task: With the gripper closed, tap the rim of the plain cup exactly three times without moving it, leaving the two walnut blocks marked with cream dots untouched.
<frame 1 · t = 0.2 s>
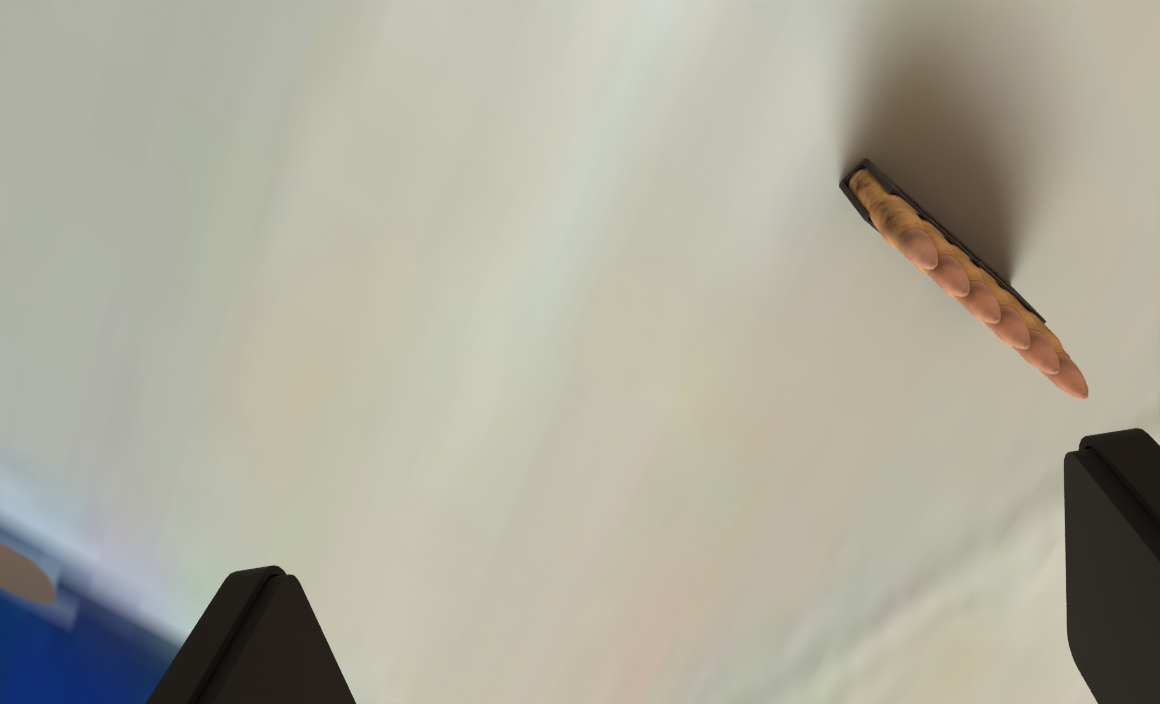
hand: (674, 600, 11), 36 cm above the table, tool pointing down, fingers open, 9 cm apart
ammunition clip: (924, 235, 46), on the table
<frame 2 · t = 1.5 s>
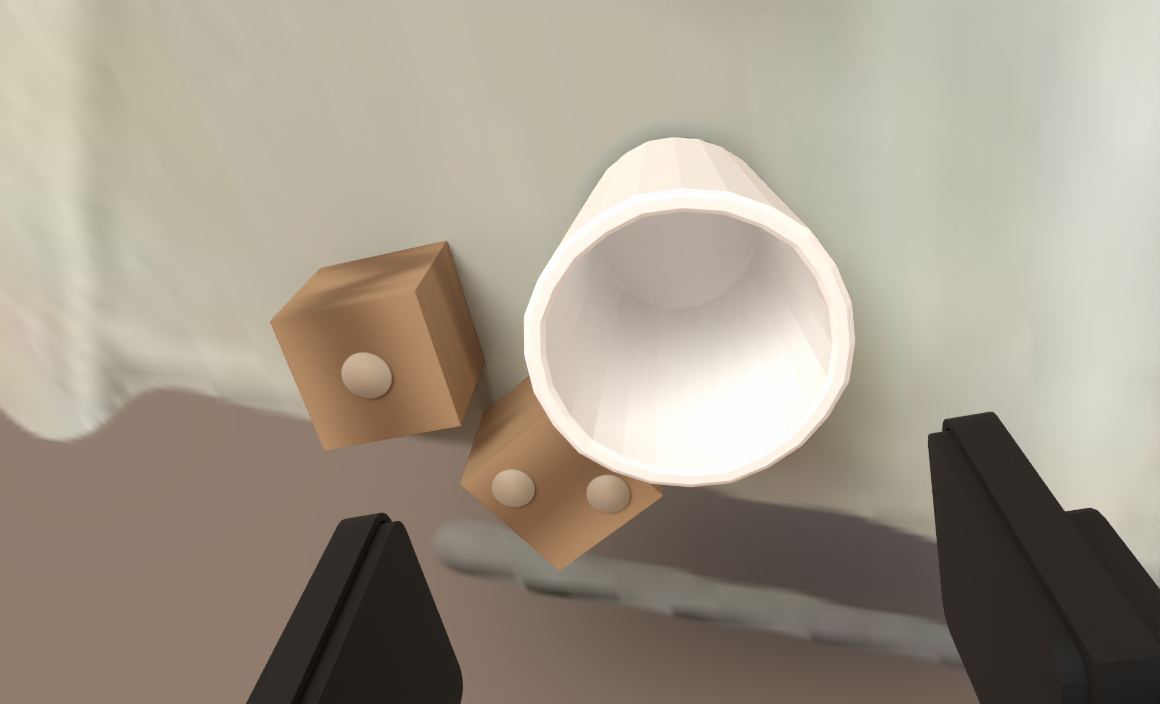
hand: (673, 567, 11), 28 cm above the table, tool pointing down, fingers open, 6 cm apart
cup: (675, 221, 38), on the table
walnut block one dot: (404, 314, 41), on the table
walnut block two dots: (572, 418, 43), on the table
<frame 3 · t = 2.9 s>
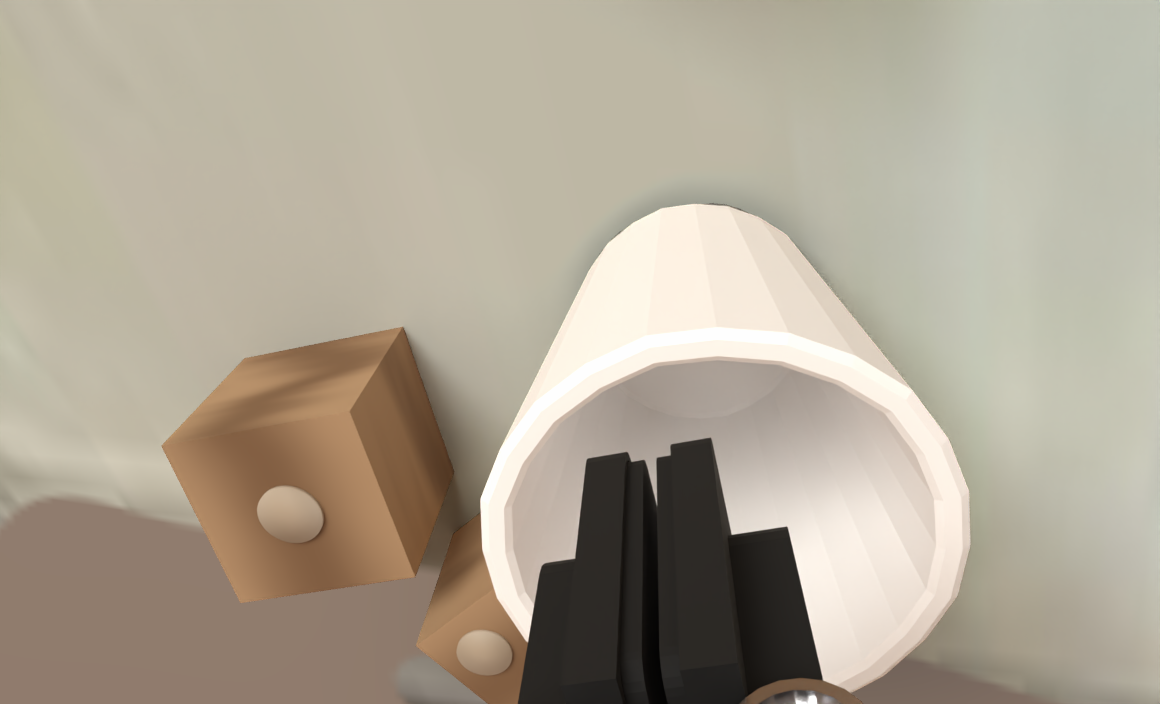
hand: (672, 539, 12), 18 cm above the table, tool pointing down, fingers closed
cup: (695, 305, 30), on the table
walnut block one dot: (352, 415, 33), on the table
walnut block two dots: (563, 540, 34), on the table
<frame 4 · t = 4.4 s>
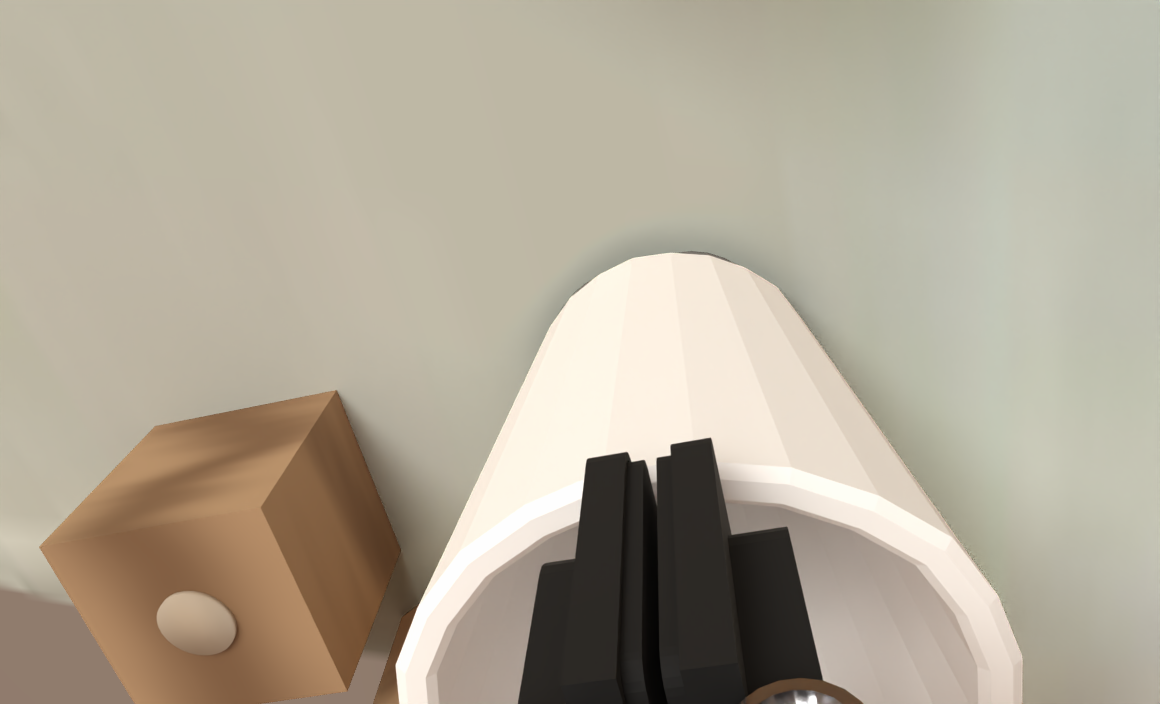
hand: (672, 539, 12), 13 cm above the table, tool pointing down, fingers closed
cup: (673, 364, 26), on the table
walnut block one dot: (282, 488, 28), on the table
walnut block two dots: (527, 623, 30), on the table
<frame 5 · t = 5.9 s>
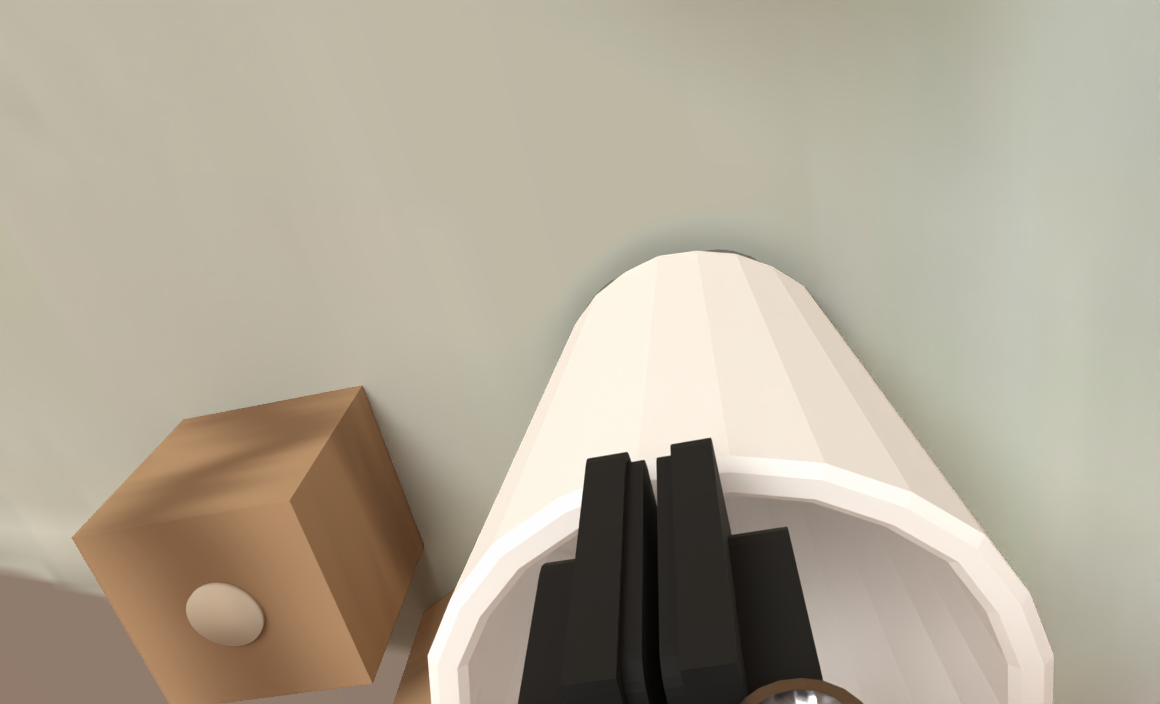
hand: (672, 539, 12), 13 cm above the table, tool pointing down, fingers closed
cup: (697, 363, 26), on the table
walnut block one dot: (307, 482, 29), on the table
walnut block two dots: (548, 619, 30), on the table
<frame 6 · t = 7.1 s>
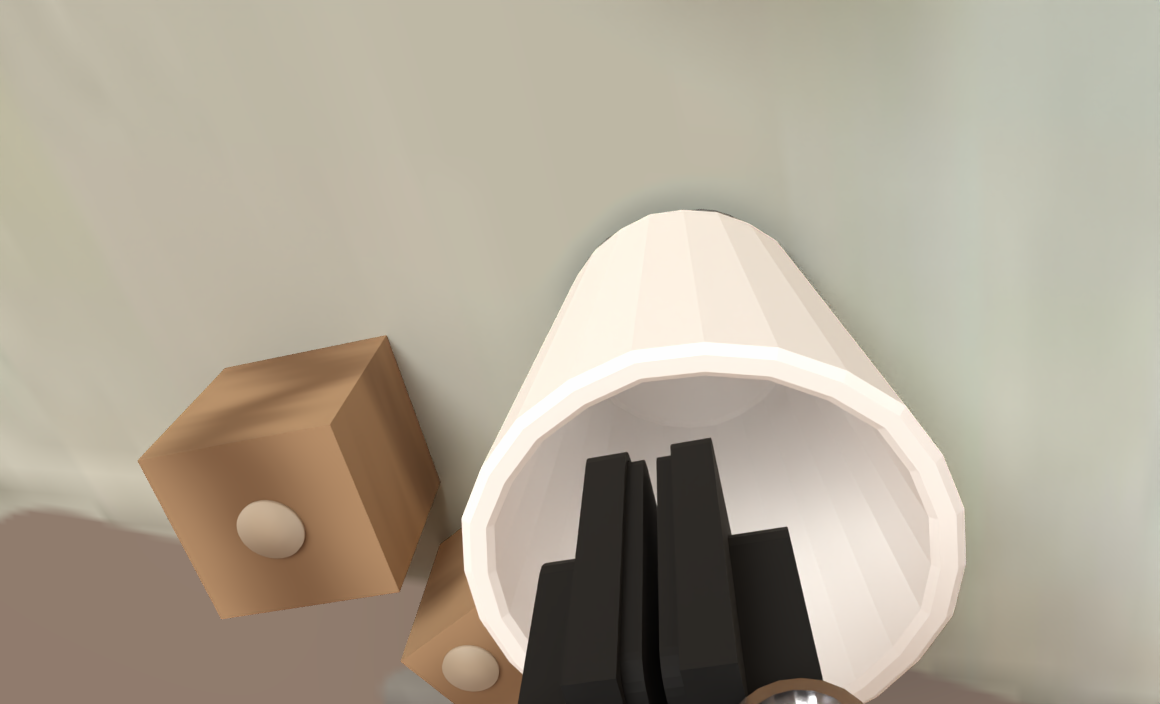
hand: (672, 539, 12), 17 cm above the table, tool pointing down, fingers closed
cup: (685, 312, 29), on the table
walnut block one dot: (335, 425, 32), on the table
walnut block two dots: (552, 550, 34), on the table
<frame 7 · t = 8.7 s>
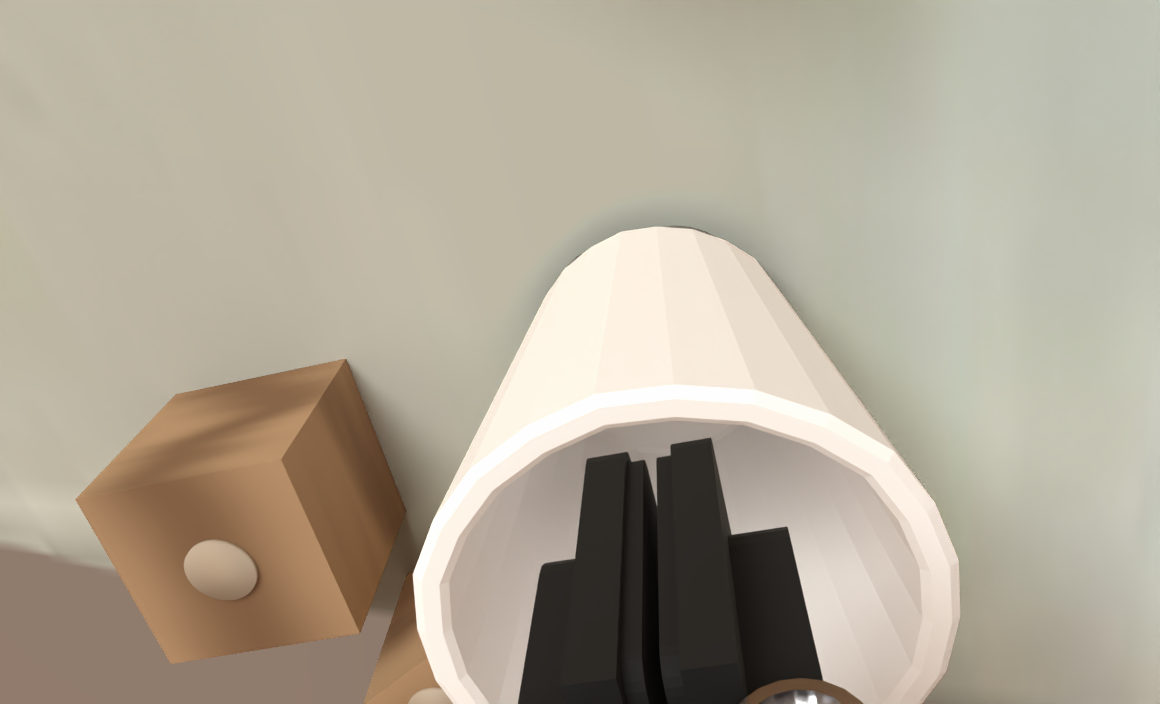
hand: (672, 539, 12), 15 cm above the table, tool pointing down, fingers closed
cup: (660, 333, 28), on the table
walnut block one dot: (294, 453, 30), on the table
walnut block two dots: (524, 580, 32), on the table
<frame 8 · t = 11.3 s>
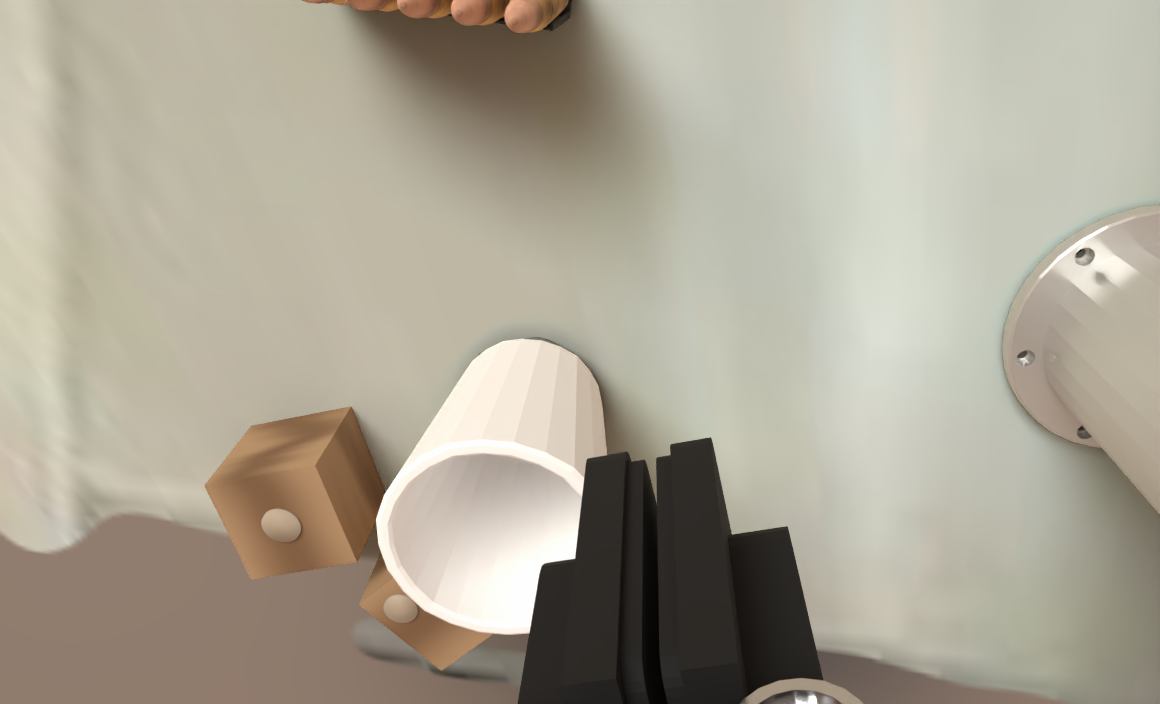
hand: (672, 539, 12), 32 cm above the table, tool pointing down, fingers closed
cup: (532, 394, 48), on the table
walnut block one dot: (320, 460, 51), on the table
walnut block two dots: (459, 539, 52), on the table
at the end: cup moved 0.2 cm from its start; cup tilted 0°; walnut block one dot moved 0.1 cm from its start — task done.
